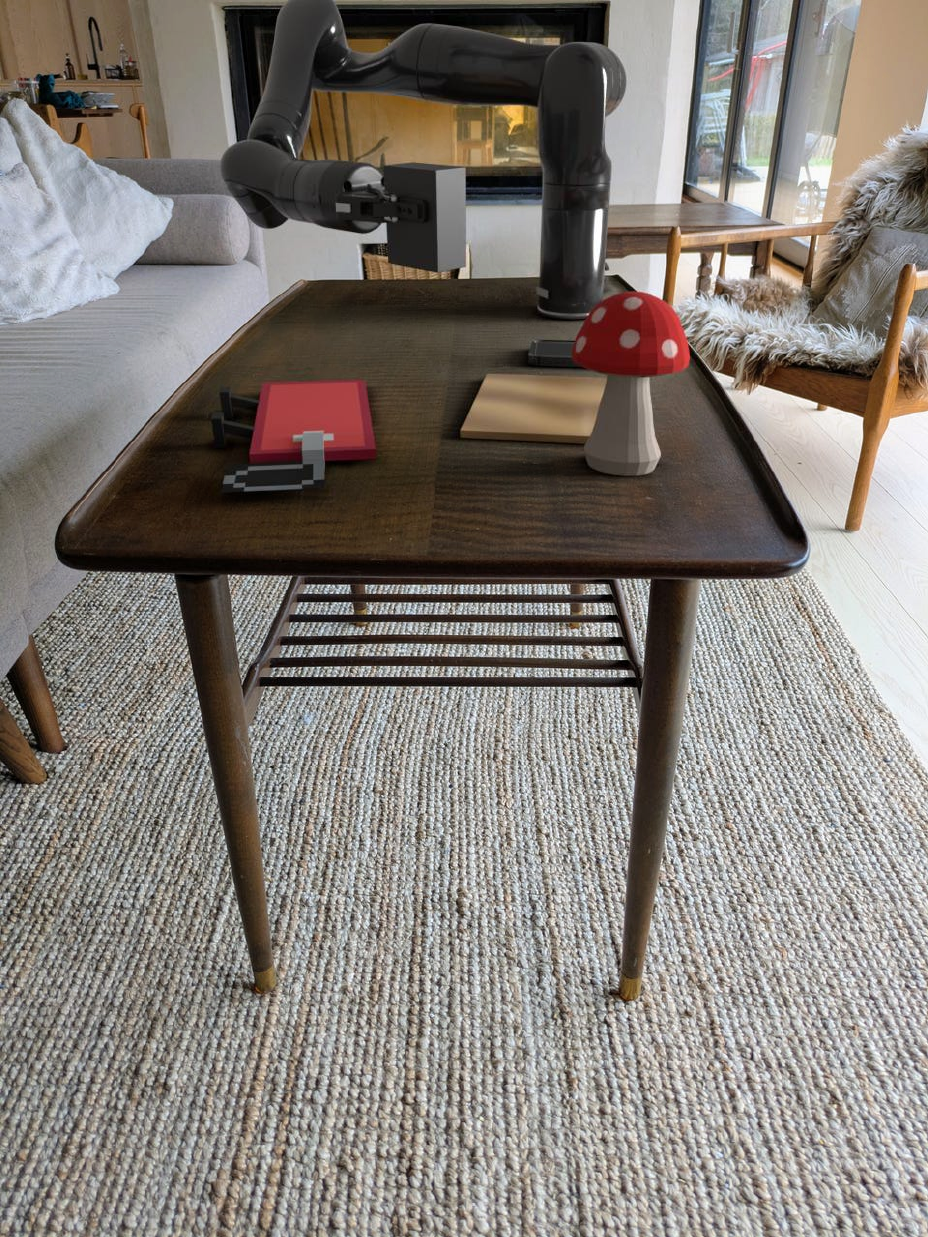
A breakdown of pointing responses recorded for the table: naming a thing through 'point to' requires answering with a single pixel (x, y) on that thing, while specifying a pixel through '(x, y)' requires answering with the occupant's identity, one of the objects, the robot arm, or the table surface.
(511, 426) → the wooden board
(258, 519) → the table surface
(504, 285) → the table surface
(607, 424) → the decorative mushroom
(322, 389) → the red board with handle
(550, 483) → the table surface
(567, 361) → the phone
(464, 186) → the tall charcoal box
